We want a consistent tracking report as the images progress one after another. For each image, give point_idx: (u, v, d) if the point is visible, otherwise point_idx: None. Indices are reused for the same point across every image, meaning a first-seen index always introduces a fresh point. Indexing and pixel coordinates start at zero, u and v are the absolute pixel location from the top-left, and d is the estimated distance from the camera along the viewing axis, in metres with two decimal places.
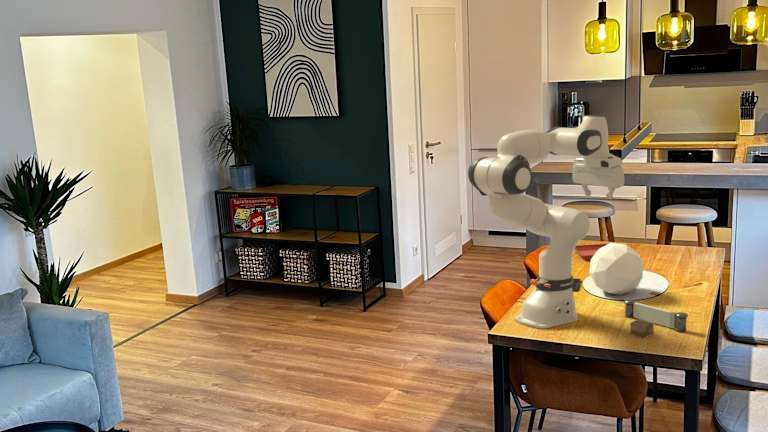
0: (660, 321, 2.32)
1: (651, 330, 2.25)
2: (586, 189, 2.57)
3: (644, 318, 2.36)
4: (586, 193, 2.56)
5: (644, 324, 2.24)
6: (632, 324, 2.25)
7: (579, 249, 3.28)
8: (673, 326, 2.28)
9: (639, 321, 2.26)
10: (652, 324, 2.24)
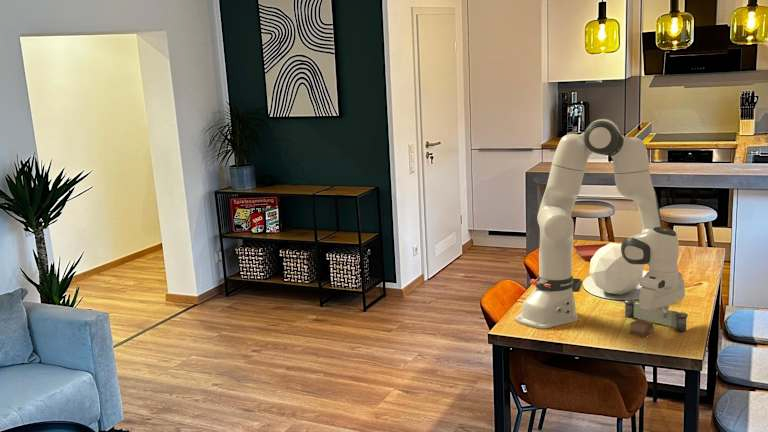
0: (661, 320, 2.32)
1: (651, 330, 2.24)
2: (663, 310, 2.30)
3: (645, 318, 2.37)
4: None
5: (644, 324, 2.24)
6: (632, 324, 2.25)
7: (579, 249, 3.28)
8: (675, 325, 2.29)
9: (640, 321, 2.26)
10: (652, 324, 2.24)
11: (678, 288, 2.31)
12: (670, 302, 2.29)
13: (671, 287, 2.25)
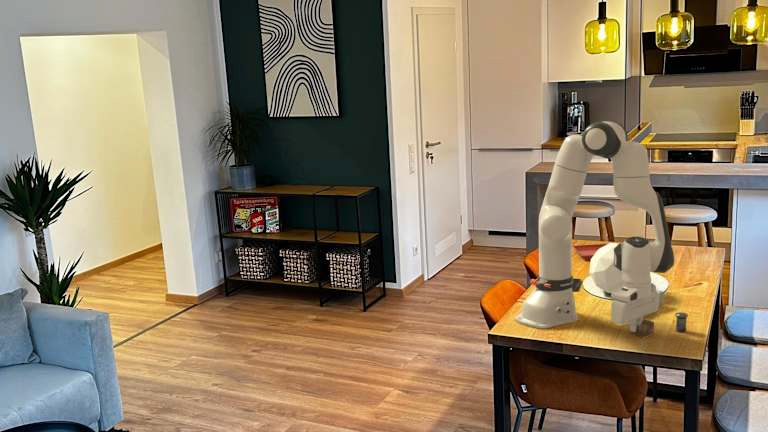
0: None
1: (652, 329, 2.25)
2: (636, 322, 2.24)
3: None
4: None
5: (644, 323, 2.24)
6: None
7: (579, 249, 3.28)
8: (662, 303, 2.50)
9: None
10: (653, 323, 2.25)
11: (651, 300, 2.24)
12: (643, 314, 2.22)
13: (644, 299, 2.19)
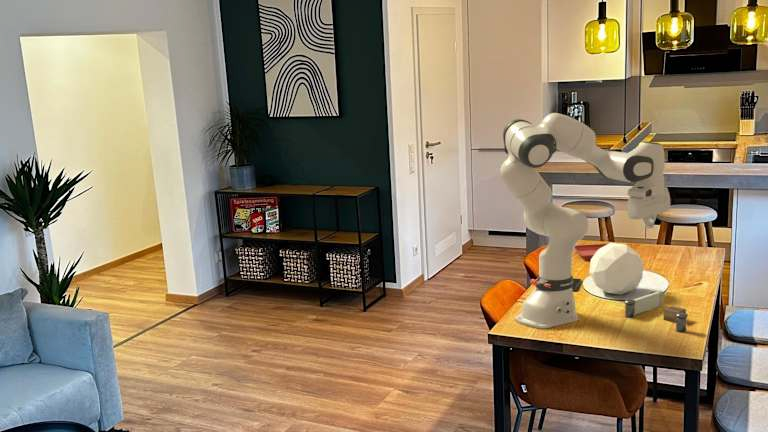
0: (653, 305, 2.47)
1: None
2: (650, 220, 2.44)
3: (642, 310, 2.44)
4: None
5: (677, 310, 2.34)
6: (665, 310, 2.36)
7: (579, 249, 3.28)
8: (662, 303, 2.50)
9: (672, 307, 2.37)
10: (685, 310, 2.35)
11: (664, 200, 2.44)
12: (656, 212, 2.42)
13: (657, 197, 2.39)
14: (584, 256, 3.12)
